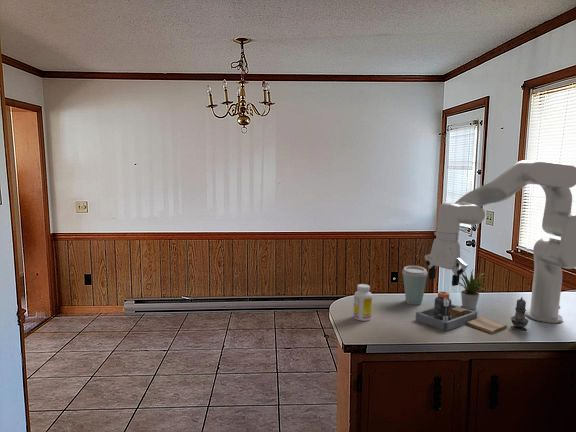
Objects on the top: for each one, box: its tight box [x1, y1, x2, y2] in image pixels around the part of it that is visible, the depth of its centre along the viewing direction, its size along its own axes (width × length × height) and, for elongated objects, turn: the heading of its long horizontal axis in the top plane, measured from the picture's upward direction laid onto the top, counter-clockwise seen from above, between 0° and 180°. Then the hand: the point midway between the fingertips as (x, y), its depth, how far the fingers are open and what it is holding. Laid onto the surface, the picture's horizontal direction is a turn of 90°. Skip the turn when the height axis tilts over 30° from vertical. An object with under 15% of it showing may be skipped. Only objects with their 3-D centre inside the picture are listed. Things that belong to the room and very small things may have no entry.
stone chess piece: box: [510, 296, 530, 332], centre depth 156 cm, size 6×6×12 cm
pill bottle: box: [433, 291, 452, 322], centre depth 161 cm, size 6×6×11 cm
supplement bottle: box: [353, 283, 373, 322], centre depth 162 cm, size 7×7×13 cm
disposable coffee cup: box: [401, 265, 429, 306], centre depth 182 cm, size 11×11×15 cm
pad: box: [465, 316, 508, 335], centre depth 158 cm, size 10×10×1 cm
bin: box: [415, 303, 478, 332], centre depth 163 cm, size 20×13×3 cm, turn 126°
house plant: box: [458, 269, 486, 310], centre depth 177 cm, size 14×14×16 cm
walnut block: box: [450, 306, 467, 320], centre depth 165 cm, size 4×4×4 cm
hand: (443, 281), depth 160 cm, fingers open, 9 cm apart
